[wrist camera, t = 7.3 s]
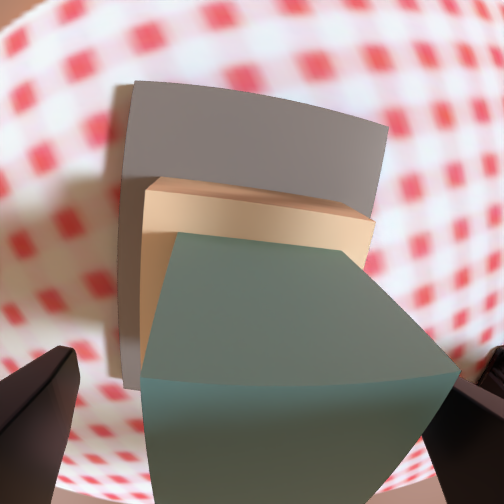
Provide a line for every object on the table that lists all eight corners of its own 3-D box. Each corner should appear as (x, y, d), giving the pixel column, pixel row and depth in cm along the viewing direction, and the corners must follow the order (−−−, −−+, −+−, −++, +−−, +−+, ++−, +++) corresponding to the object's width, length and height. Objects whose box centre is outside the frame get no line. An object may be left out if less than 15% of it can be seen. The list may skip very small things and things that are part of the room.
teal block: (341, 250, 10) (461, 370, 4) (305, 374, 12) (359, 509, 6) (177, 231, 9) (139, 376, 4) (170, 368, 11) (158, 522, 5)
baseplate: (381, 126, 12) (388, 127, 12) (310, 391, 17) (312, 398, 16) (138, 83, 11) (134, 80, 10) (125, 380, 15) (123, 388, 14)
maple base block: (340, 202, 13) (375, 221, 10) (303, 348, 15) (321, 391, 12) (160, 176, 11) (145, 189, 9) (151, 337, 14) (141, 382, 11)
